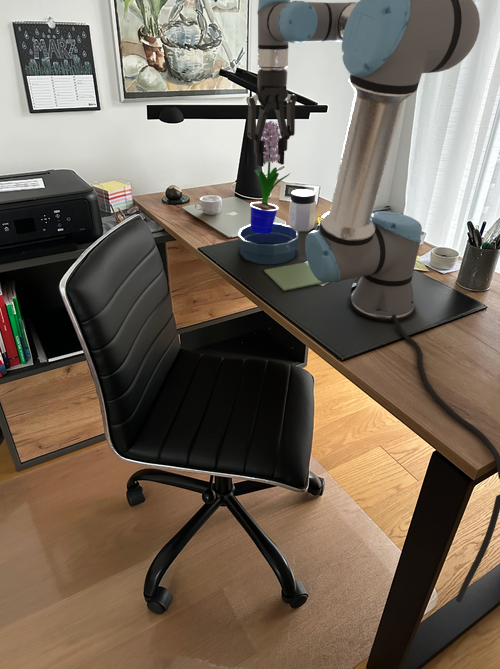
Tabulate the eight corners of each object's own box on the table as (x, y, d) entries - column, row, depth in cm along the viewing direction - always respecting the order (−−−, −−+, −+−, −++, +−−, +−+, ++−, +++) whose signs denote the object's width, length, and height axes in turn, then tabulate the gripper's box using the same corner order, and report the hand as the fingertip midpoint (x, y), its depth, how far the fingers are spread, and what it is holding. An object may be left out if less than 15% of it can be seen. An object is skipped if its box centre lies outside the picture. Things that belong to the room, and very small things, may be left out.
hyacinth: (277, 238, 137) (296, 126, 122) (243, 231, 138) (257, 119, 123) (282, 229, 144) (300, 123, 130) (249, 223, 145) (263, 117, 131)
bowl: (307, 259, 142) (309, 239, 139) (252, 269, 136) (252, 249, 133) (281, 237, 156) (282, 219, 153) (230, 246, 150) (229, 227, 147)
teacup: (218, 208, 180) (217, 194, 177) (224, 214, 174) (224, 200, 172) (192, 211, 177) (191, 197, 174) (198, 218, 171) (197, 203, 168)
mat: (326, 282, 129) (327, 281, 129) (284, 291, 125) (284, 289, 125) (304, 263, 139) (304, 262, 139) (264, 271, 135) (264, 269, 135)
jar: (284, 225, 166) (285, 190, 159) (303, 221, 169) (306, 187, 162) (298, 233, 159) (300, 198, 152) (318, 229, 162) (321, 194, 156)
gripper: (298, 66, 125) (294, 158, 137) (232, 68, 119) (234, 164, 131) (312, 68, 119) (306, 164, 132) (244, 71, 113) (244, 171, 126)
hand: (270, 164), depth 131 cm, fingers closed on hyacinth, 5 cm apart
